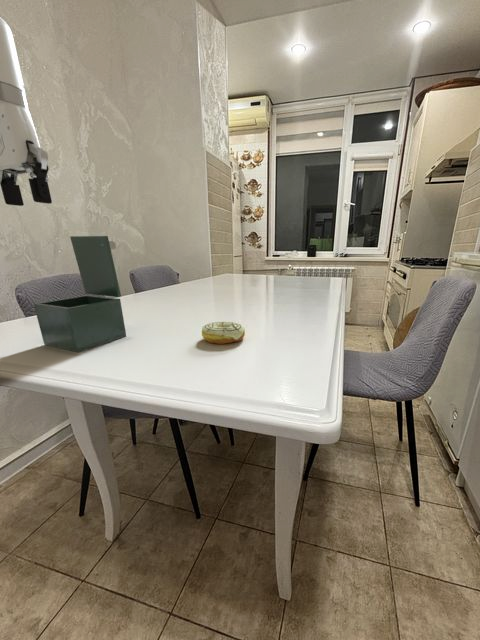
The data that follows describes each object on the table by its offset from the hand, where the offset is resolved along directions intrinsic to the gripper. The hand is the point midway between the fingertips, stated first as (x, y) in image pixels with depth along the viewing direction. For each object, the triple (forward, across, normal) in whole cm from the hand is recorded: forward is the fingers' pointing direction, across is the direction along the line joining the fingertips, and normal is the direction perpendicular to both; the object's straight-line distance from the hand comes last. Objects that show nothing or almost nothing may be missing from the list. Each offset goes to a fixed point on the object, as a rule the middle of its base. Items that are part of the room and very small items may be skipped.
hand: (28, 203), depth 60 cm
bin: (+30, +4, +4) cm, 31 cm away
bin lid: (+13, +4, +9) cm, 16 cm away
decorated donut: (+31, +34, +19) cm, 49 cm away
